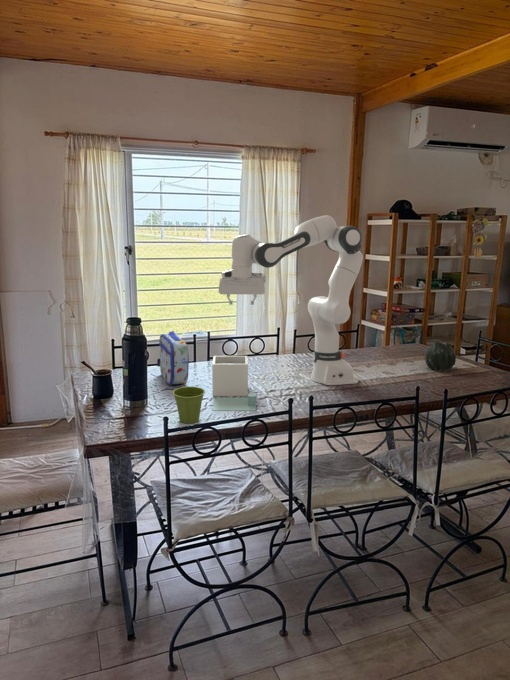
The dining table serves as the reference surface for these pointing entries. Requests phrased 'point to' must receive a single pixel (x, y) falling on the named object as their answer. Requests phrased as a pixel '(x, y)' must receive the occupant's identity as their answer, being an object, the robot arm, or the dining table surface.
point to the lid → (236, 403)
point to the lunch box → (173, 359)
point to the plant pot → (189, 403)
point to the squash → (440, 357)
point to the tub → (230, 376)
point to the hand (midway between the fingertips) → (241, 304)
